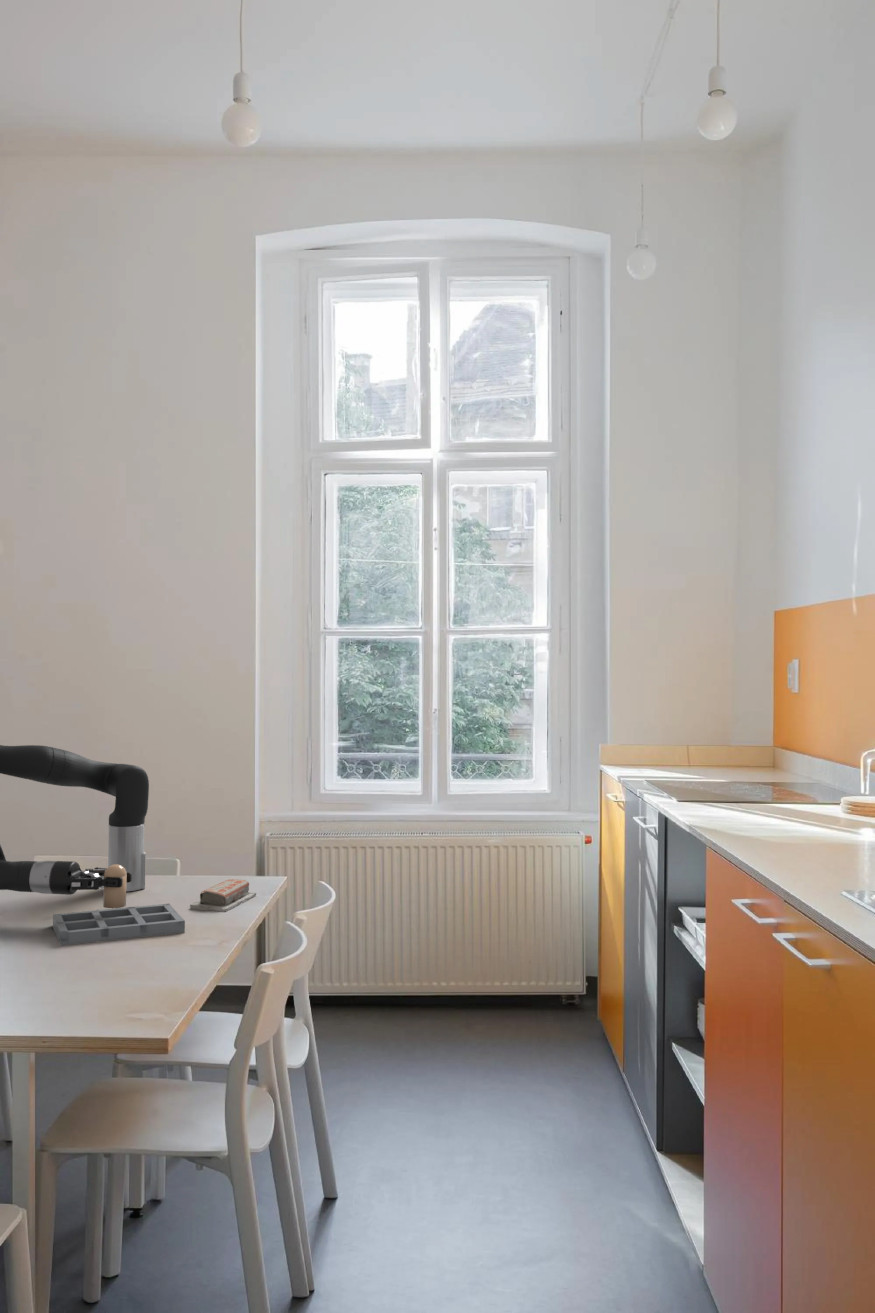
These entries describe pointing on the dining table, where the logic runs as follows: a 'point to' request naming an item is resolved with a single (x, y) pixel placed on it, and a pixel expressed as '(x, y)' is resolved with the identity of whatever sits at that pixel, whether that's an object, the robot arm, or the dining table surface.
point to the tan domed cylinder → (115, 888)
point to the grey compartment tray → (117, 924)
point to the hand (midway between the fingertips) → (126, 880)
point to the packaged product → (224, 896)
